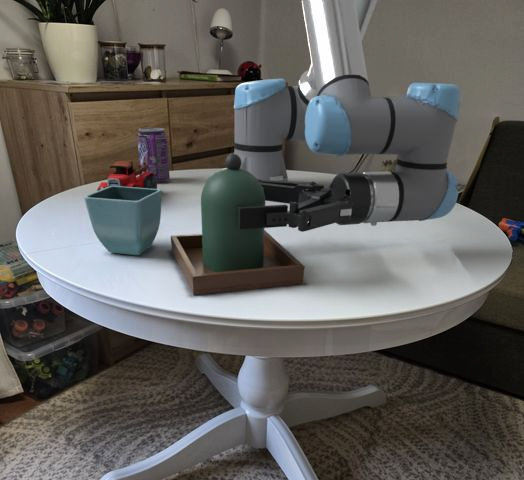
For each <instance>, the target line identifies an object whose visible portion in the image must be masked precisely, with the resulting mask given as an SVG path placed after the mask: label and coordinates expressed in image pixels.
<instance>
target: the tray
mask: <svg viewBox="0 0 524 480" xmlns="http://www.w3.org/2000/svg"><path fill="white" fill-rule="evenodd" d="M170 249H171V253H172V255H173V257H174V259H175V261H176V263H177V265H178V267H179V269H180V271H181V273H182V275H183V277H184V279H185V281H186V283H187V285H188V287H189V289H190V291H191V293H192V295H193V296H197V295H199V296H200V295H208V294H217V293H227V292H236V291H244V290H246V291H247V290H254V289H263V288H265V289H266V288H275V287H284V286H295V285H303V284H304V282H305V281H304V280H305V267H306V266H305V264H303V263H301V261H299V260H298V259H297V258H296V257H295V256H294V255H293V254H292V253H291V252H290V251H288V250H287V249H286V248H285V247H284V246H283V245H282V244H280V242H279V241H277V240H276V239H275V238H274V237H273V236H272V235H271V234H270V233H269V232H267V231H266V230H265V229H264V256H263V266H262V267H261V268H258V269H247V270H236V271H225V272H215V271H212V270H209V269H208V268H206V267H205V266H204V265H203V247H202V233H193V234H191V233H190V234H177V235H170Z"/></svg>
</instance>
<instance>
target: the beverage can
mask: <svg viewBox="0 0 524 480" xmlns="http://www.w3.org/2000/svg"><path fill="white" fill-rule="evenodd" d="M168 147H169V146H168V137H167V134H166V132H165V128H162V127H140V128H138V133H137V148H138V149H137V150H138V159H139V165H141V168H142V167H144V163H143V162H146V165H148V167H149V168H148V169H147V172H152V173H153V174H154V176H155V177H156V180H157V184H158V183H164V182H166V181H167V180H169V179H170V176H171V175H170V163H169V161H170V159H169V148H168ZM142 173H144V172H142Z"/></svg>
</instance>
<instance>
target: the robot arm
mask: <svg viewBox="0 0 524 480" xmlns="http://www.w3.org/2000/svg"><path fill="white" fill-rule="evenodd" d="M378 2H379V0H301V3H302V4H301V5H302V11H303V17H304V23H305V29H306V36H307V42H308V48H309V53H310V61H311V64H310V67H309V69H307V70H306V71H304V72H303V73H302V74H301V75H300V77H299V81H298V84H297V85H287V82H286V80H285V79H284V78H271V79H259V80H253V81H247V82H246V81H245V82H241V83H240V84H238V85H237V86H236V88H235V91H234V102H233V103H234V104H233V109H234V149H233V150H234V152H233V154H236V155H238V156H239V157H240V159H241V167H240V168H241V169H244V170H246V171H248V172H250V173H251V174H252V175H254V176H255V177H256V178H257V180H258V181H259V182H260V184H261V186H262V188H263V191H264V194H265V202H273V203H279V204H270V205H265V206H249V207H238V228H239V229H255V228H264V229H269V228H285V227H289V228H292V229H297V231H299V232H302V233H303V232H308V231H312V230H314V229H319V228H322V227H325V226H329V225H332V224H336V225H339V226H350V225H360V224H370V226H372V227H376V226H377V224H378V223H389V222H391V223H392V222H410V221H411V222H412V221H418V222H423V221H429V220H434V219H435V220H436V219H440V218H443V217H445V216H447V215H448V214H450V213H451V211H453V209H454V208H455V206H456V203H457V201H458V197H459V190H458V185H459V183H458V179H457V177H456V176H455V174H454V173H453V172H452V171H450V170H448V167H447V165H448V158H449V154H450V150H451V145H452V141H453V137H454V134H455V129H456V125H457V122H458V121H459V120H458V118H459V113H460V106H461V96H462V92H461V88H460V87H459V86H458V85H456V84H453V83H441V82H440V83H439V82H438V83H437V82H433V83H432V82H413V83H411V84H409V86H408V87H407V91H406V94H405V96H389V97H388V96H372V93H371V88H370V82H369V77H368V71H367V65H366V59H365V53H364V48H363V41H364V39H365V35H366V33H367V30H368V29H369V26H370V23H371V20H372V18H373V15H374V14H375V13H374V12H375V10H376V7H377V5H378ZM284 141H305V142H306V144H307V147H308V149H309V150H310V151H311V152H312V153H314V154H317V155H330V156H336V157H341V156H345V155H347V156H348V155H396V159H395V160H396V164H397V165H396V171H393V172H388V171H382V172H381V171H364V172H339V173H338V174H336V175H335V176H334V177H333V179H332V181H331V183H330V185H329V186H328V187H325V184H323V183H322V184H321V183H317V182H315V181H289V175H288V172H287V168H286V164H285V160H284V155H283V144H284ZM280 203H281V204H280ZM288 205H289V206H288ZM288 207H289V208H288Z"/></svg>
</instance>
